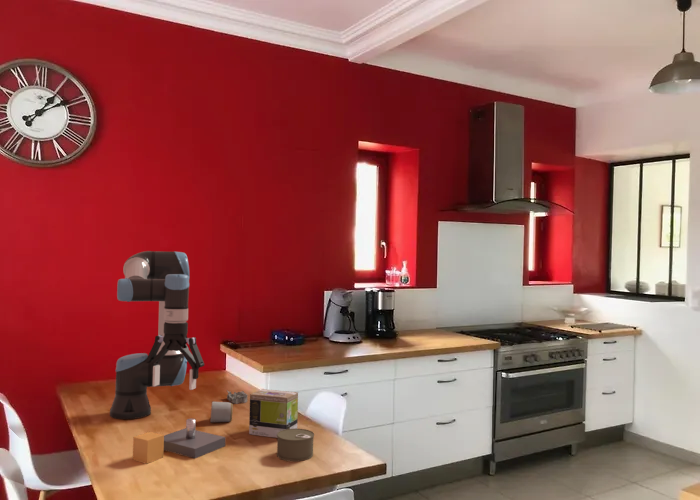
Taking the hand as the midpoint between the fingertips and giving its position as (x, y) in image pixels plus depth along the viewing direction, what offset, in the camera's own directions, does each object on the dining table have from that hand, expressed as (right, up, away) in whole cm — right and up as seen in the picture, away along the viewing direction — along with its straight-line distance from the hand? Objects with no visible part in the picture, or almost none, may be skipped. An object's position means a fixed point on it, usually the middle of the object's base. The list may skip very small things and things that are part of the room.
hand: (174, 387), depth 186 cm
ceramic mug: (+7, -22, +35) cm, 42 cm away
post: (+4, -18, +5) cm, 19 cm away
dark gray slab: (+4, -21, +5) cm, 22 cm away
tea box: (+29, -22, +21) cm, 42 cm away
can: (+39, -22, 0) cm, 45 cm away
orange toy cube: (-6, -21, -7) cm, 23 cm away
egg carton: (+8, -22, +66) cm, 70 cm away
